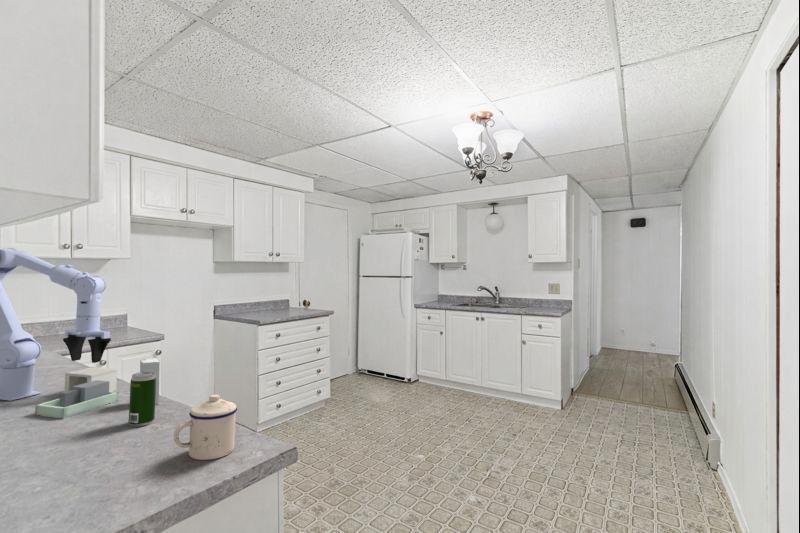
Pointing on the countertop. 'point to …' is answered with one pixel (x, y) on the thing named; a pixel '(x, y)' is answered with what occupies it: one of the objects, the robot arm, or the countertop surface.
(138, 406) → the beer can
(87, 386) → the grey bottle-shaped block
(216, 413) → the teacup with lid
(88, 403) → the tray
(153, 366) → the skincare box
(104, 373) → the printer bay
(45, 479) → the countertop surface
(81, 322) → the robot arm
